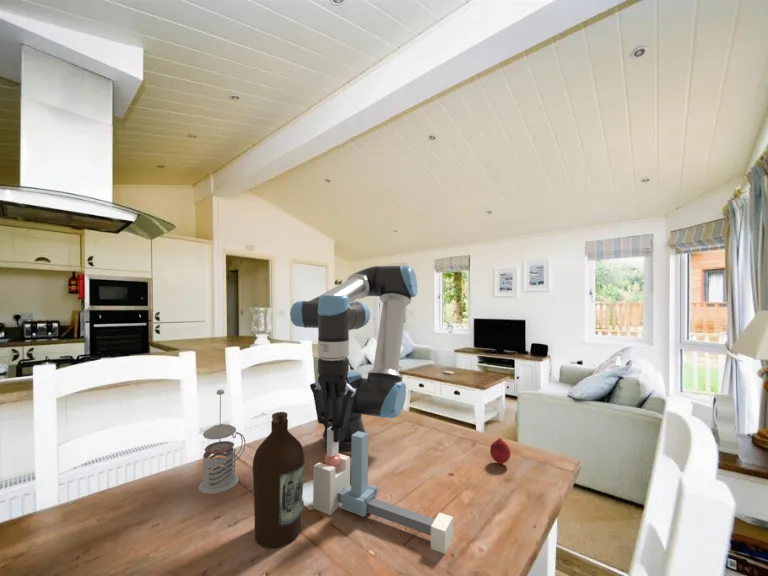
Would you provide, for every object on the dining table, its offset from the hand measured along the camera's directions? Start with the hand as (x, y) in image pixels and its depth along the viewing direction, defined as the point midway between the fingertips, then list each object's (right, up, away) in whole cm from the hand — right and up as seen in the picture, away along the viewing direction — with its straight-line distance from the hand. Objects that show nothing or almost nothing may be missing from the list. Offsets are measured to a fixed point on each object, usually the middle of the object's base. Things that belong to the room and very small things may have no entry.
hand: (332, 453), depth 83 cm
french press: (-31, -12, +9) cm, 34 cm away
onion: (+48, -13, +19) cm, 53 cm away
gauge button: (0, -3, 0) cm, 3 cm away
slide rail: (+13, -12, -7) cm, 19 cm away
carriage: (+7, -10, -4) cm, 13 cm away
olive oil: (-10, -12, -11) cm, 19 cm away
